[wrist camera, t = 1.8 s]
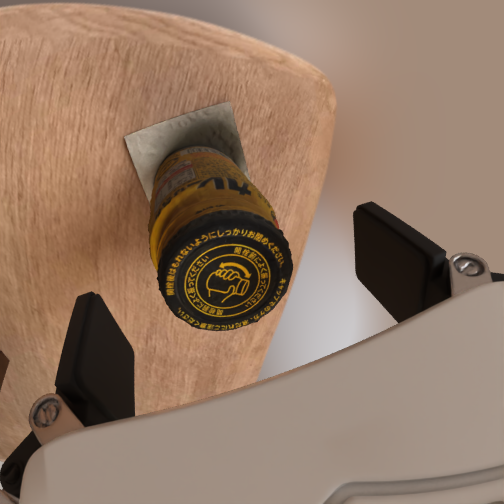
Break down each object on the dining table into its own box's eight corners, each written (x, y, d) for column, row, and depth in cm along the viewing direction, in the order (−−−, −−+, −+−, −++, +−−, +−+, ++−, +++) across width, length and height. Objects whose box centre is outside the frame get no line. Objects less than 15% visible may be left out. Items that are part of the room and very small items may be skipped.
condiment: (166, 242, 23) (178, 366, 13) (124, 136, 19) (80, 191, 9) (257, 210, 24) (331, 310, 14) (228, 100, 19) (303, 116, 9)
